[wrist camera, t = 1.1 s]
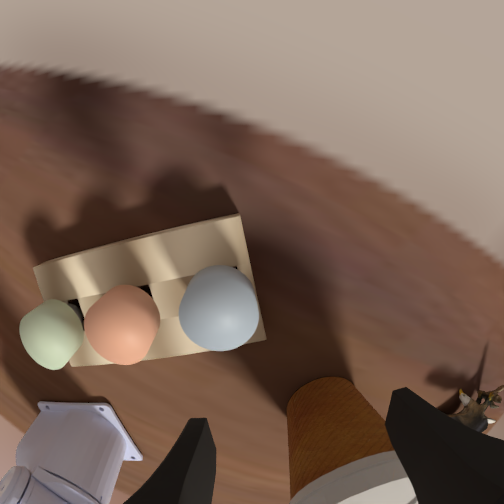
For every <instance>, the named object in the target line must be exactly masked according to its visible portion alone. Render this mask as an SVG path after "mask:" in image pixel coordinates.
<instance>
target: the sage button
mask: <svg viewBox="0 0 504 504" xmlns="http://www.w3.org/2000/svg"><path fill="white" fill-rule="evenodd" d="M82 321H83V316H82V313H81V311H80V309H79V308H78V307H77V306H76V305H74V304H71V303H68V304H66V303H64V302H62V301H60V300H56V299H50V300H47V301H45V302H43V303H42V304H41V305H39V306H38V307H36V308H35V309H33V310H32V311H31V312H29V313H28V314H26V315H25V316H24V317H23V318H22V320H21V322H20V327H19V331H20V337H21V341H22V343H23V345H24V347H25V349H26V351H27V352H28V354H29V355H30V356H31V357H32V358H33V359H34V360H35V361H36V362H37V363H38V364H40V365H41V366H43V367H45V368H48V369H51V370H58V369H61V368H62V367H63V366H64V365H65V364H66V363H67V362H68V361H69V359H70V358H71V357H72V356H73V355H74V353H75V352H76V351H77V350H78V349H79V348H80V346H81V345H82V343H83V339H84V331H83V326H82Z"/></svg>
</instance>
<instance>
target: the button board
mask: <svg viewBox="0 0 504 504" xmlns="http://www.w3.org/2000/svg"><path fill="white" fill-rule="evenodd" d="M213 265H226V266H230V267H234V266H237V269H238V270H239V271H241V272H242V273H243V274H245V275H246V276H247V278H248V279H249V280H250V282H251V283H252V286H253V288H254V292H255V296H256V301H257V305H258V311H259V321H258V325H257V328H256V330H255V332H254V334H253V335H252V337H251V338H250V339H249V340H248V341H247V342H246V343H244V344H248V343H253V342H258V341H263V340H267V339H266V335H265V330H264V325H263V321H262V316H261V311H260V307H259V302H258V297H257V293H256V288H255V283H254V279H253V274H252V269H251V265H250V260H249V255H248V251H247V246H246V241H245V236H244V232H243V227H242V222H241V217H240V213H237V214H233V215H228V216H223V217H219V218H214V219H210V220H205V221H201V222H196V223H192V224H188V225H183V226H179V227H175V228H171V229H166V230H162V231H158V232H154V233H150V234H146V235H142V236H138V237H134V238H130V239H126V240H122V241H118V242H114V243H110V244H107V245H103V246H99V247H95V248H92V249H88V250H84V251H81V252H77V253H73V254H70V255H66V256H63V257H59V258H56V259H52V260H49V261H46V262H44V263H42V264H40V265H37V266H35V267H33V270H34V273H35V276H36V279H37V282H38V286H39V289H40V292H41V294H42V297H43V300H44V302H45V301H47V300H50V299H56V300H60V301H62V302H64V303H66V304H68V300H72V299H77V298H78V301H79V304H80V307H81V310H82V312H83V315H84V318H85V315H86V313H87V311H88V309H89V308H90V307H91V306H92V305H93V304H94V303H95V302H96V301H97V300H99V299H100V298H101V297H102V296H103V295H104V294H105V293H106V292H107V291H109V290H110V289H111V288H113V287H115V286H118V285H132V286H135V287H137V286H142V285H147V284H149V287H150V290H151V293H152V297H153V300H154V302H155V303H156V305H157V307H158V310H159V313H160V327H159V330H158V332H157V334H156V336H155V338H154V340H153V342H152V344H151V346H150V348H149V351H148V353H147V354H146V356H145V357H144V358H143V359H142V360H151V359H158V358H166V357H173V356H180V355H186V354H193V353H199V352H205V351H211V350H208V349H205V348H203V347H200V346H198V345H197V344H195V343H194V342H193V341H191V340H190V339H189V338H188V337H187V335H186V334H185V333H184V331H183V329H182V327H181V324H180V321H179V306H180V303H181V300H182V298H183V295H184V293H185V291H186V289H187V286H188V284H189V282H190V280H191V279H192V278H193V276H194V275H195V274H196V273H198V272H199V271H200V270H202V269H204V268H206V267H209V266H213ZM82 326H83V331H84V339H83V343H82V345H81V346H80V348H79V349H78V350H77V351H76V352H75V353H74V355H73V356H72V357H71V358H70V359H69V362H70V364H71V366H72V367H75V366H90V365H103V364H114V363H113V362H110V361H108V360H106V359H105V358H103V357H102V356H100V355H99V354H98V353H97V352H96V351H95V350H94V349H93V347H92V346H91V344H90V343H89V341H88V339H87V337H86V334H85V329H84V322H82ZM142 360H140V361H142Z"/></svg>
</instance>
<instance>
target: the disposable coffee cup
mask: <svg viewBox="0 0 504 504" xmlns="http://www.w3.org/2000/svg"><path fill="white" fill-rule="evenodd" d="M369 404H370V403H369V402H368V401H367V400H366V399H365V398H364V397H363V395H362V394H361V393H360V392H359V391H358V390H357V389H356V387H355V386H354V385H353V384H352V383H351V382H350V381H348V380H346V379H344V378H340V377H324V378H320V379H317V380H314V381H312V382H309V383H307V384H306V385H304V386H302V387H301V388H300V389H299V390H297V391H296V392H295V393H294V394H293V395H292V397H291V399H290V401H289V402H288V405H287V425H288V446H289V469H290V495H291V501H290V503H289V504H418V501H417V498H416V495H415V492H414V489H413V486H412V484H411V482H410V480H409V478H408V476H407V474H406V472H405V470H404V468H403V466H402V464H401V462H400V460H399V458H398V456H397V454H396V452H395V450H394V448H393V446H392V444H391V441H390V439H389V436H388V433H387V430H386V427H385V420H384V419H383V418H381V416H380V415H379V414H378V413H377V411H376V410H375V409H373V407H372V406H371V405H369Z"/></svg>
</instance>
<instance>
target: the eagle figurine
mask: <svg viewBox="0 0 504 504" xmlns="http://www.w3.org/2000/svg"><path fill="white" fill-rule="evenodd" d="M503 389H504V385H502V386H500V387H498V388H497V389H496V390H494V391H491V392H490V391H489V392H485V391H481V390H478V392H477V393H478V398H477V400H476V401H474V400H473V399H472V398H470V397H468V396H467V395H466V394H465V393H463V392H462V389H460V390H459V393H460V396H459V398H460V400H461V401H462V403H463V405H464V409H463V410H462V411H461V412H459V413H457V414H450V415H448V416H449V417H451V418H453V419H454V420H456V421H458V422H460V423H462V424H463V425H465V426H467V427H469V428H471V429H474V430H476V431H478V432H483V431H484V430H486V429H487V426H488V423H494V422H496V421H495V420H493V419H490V418H487V417H486V416H485V415H484V412H485V410H486V409H487V407H488V406H489V405H490V407H491V408H498V407H499V406H496V405H495V404H494V402H497V403H501V401H502V398H501V397H500V396H499V395H498V394H497V393H498V392H500V391H502V390H503ZM483 398H484V399H485V402H484V403H483V404H481V405H480V403H481V399H483ZM493 401H494V402H493Z"/></svg>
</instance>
